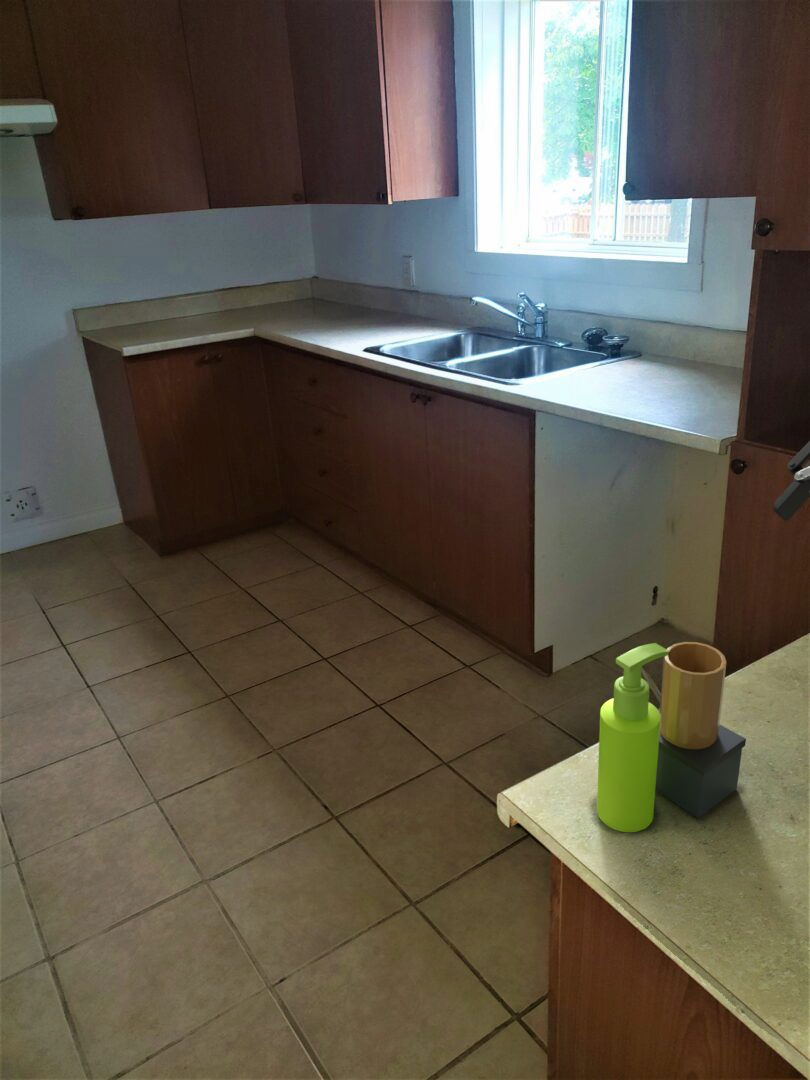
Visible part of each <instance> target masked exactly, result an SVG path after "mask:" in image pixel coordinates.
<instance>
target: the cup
mask: <svg viewBox="0 0 810 1080" xmlns="http://www.w3.org/2000/svg"><path fill="white" fill-rule="evenodd" d="M666 649H667V650H668V651H670V652H669V654H668V655H667V656H664V657H663V662H662V674H661V675H662V677H661V687H660V689H661V690H660V704H659V709H660V716H661V720H660V733H661V735H662V736H663V737H664V739H666V740H667V741H668V742H670V743H671V744H673V745H675V746H678V747H681V748H685V749H703V748H707V747H709V746H711V745H712V744H714V742H715V741H716V740H717V737H718V732H719V724H720V725H721V723H720V722H721V714H722V705H723V697H724V689H725V678H726V669H727V659H726V657H725V655H724V654H723V653H722V651H720V650H719V649H717V648H716V647H713V646H711V645H709V644H706V643H702V642H698V641H697V642H696V641H682V642H677V643H674V644H672V645H671V646H669V647H667V648H666Z"/></svg>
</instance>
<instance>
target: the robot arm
mask: <svg viewBox="0 0 810 1080" xmlns="http://www.w3.org/2000/svg"><path fill="white" fill-rule="evenodd" d="M808 460H809V461H808ZM807 461H808V462H807ZM806 462H807V463H806ZM805 463H806V464H805ZM804 464H805V465H804ZM803 465H804V466H803ZM786 469H787V470H788V471H789V472H790V474H791V475H792V477H793V480H792V482H791V483H790V484H789V485H788V486H787V488H786V489H784V491H783V492H782V493H781V494H780V496H779V497H777V498H776V500H775V502H774V504H773V508H772V510H773V512H774V513H775V514H776V515H777V516H778V518H780V519H782V520H784V521H789V520H790V519H792V517H793V516H794V515H795V514H796V513H797V512H798V511H799V509H800V508H801V507H802V506H803V505H804V504H805V503H806V502H807V501H808V500H809V498H810V440H809V441H807V443H806V444H805V445H804V446H803V447H802V448H801V449H800V451H798V452H797V453H796V455H794V456H793V458H792V459H790V461H788V463H787V465H786Z"/></svg>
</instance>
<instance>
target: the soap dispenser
mask: <svg viewBox="0 0 810 1080" xmlns="http://www.w3.org/2000/svg"><path fill="white" fill-rule="evenodd" d="M669 652H670V651H668V650H667V648H665V647H663V646H662V645H660V644H658V643H657V642H654V643H648V644H643V645H640V646H637V647H635V648H632V649H631V650H629V651H626V652H624V653H623V654H620V656H617V657H616V658H615V664H616V665H618V666H619V667H620V668H622V669H623V673H622V674H623V676H620V677H617V679H616V680H615V681H614V684H613V698H610V699H609V700H606V701H605V702H604V703H603V704H602V706H601V707H600V711H599V735H598V736H599V737H598V766H597V767H598V768H597V770H598V771H597V790H596V792H597V795H596V812H597V815H598V818H600V820H601V822H603V824H604V825H606V826H607V827H608V828H611V829H613V830H615V831H617V832H623V833H636V832H640V831H643V830H645V829H646V828H648V827H649V826H650V825H651V824H652V822H653V820H654V813H655V800H656V790H655V787H656V774H657V760H658V747H659V734H660V720H661V716H660V713H659V711H658V709H659V708H657V707H656V706H655V705H654V704H653V703H651V702H650V700H649V699H650V684H649V683H648V681H647V680H645V679H644V678H643V677H642V669H643V666H644V665H646V664H648V663H650V662H652V661H654V660H657V659H660V658H664V656H667V655H668V654H669Z"/></svg>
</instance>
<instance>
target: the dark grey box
mask: <svg viewBox="0 0 810 1080" xmlns="http://www.w3.org/2000/svg"><path fill="white" fill-rule="evenodd" d="M657 709H658V711H659V713H660V708H657ZM746 743H747V739H746V737H744V736H742V735H740V734H738V733H736V732H734V731H733V730H731V729H730V728H727V727H725V726H724V725H722V724H721V723H720V724H719V732H718V737H717V740H716V741H715V742H714V744H712V745H711V746H709V747H707V748H703V749H685V748H681V747H678V746H675V745H673V744H671V743H670V742H668V741H667V740H666V739H664V737H663V736H662V735H661V733H660V734H659V747H658V760H657V774H656V787H655V792H658V793H659V794H661V795H662V796H663V797H665V798H666V799H668V800H670V801H671V802H672V803H674V804H676V805H677V806H678V807H680V808H682V809H683V810H685V811H686V812H688V813H689V814H690V815H692V816H694V817H695V818H696V819H700V818H701V817H702V816H704V815H706V813H707V812H709V811H710V810H712V808H714V807H715V806H716V805H718V804H719V803H721V802H722V801H723V800H725V798H727V797H728V796H730V795H731V794H732V793H734V792H736V790H737V789H738V785H739V784H738V782H739V776H740V775H739V774H740V767H741V762H742V761H741V759H742V752H743V748H744V747H746Z"/></svg>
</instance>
